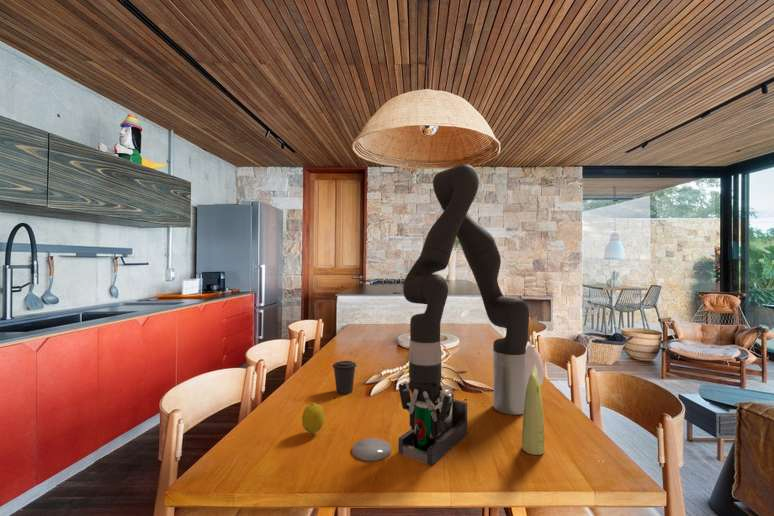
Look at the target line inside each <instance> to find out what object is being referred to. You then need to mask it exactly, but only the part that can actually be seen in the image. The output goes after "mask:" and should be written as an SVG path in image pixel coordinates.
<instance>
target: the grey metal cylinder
mask: <svg viewBox="0 0 774 516" xmlns="http://www.w3.org/2000/svg"><path fill="white" fill-rule="evenodd" d="M441 387H442V390H443V391H445V392H447V393H450V392H451V393H453V392H454V391H453V390H454V389H453V388H452V387H451V386H449V385H443V384H441ZM453 394H454V393H453ZM438 399H439V402H440V409H441V408H442V404H443V402H442V401H441V399H442V398H441V396H439V398H438ZM451 428H453V402H452V406H451V410H450V415H449V417H448V418H446V419H445V420H444V421H441V433H440V434H439V435H438V436H437V437H436V441H437V440H438V439H439V438H441V437H442V436H443V435H444V434H445V433H447V432H448V431H449V430H450V429H451Z"/></svg>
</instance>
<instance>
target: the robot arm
mask: <svg viewBox="0 0 774 516" xmlns="http://www.w3.org/2000/svg"><path fill="white" fill-rule="evenodd" d="M479 179H480V178H479V175H478V173H477V171H476V169H475V168H474V167H473V166H472V165H470V164H467V163H465V164H459V165H456V166H453V167H450V168H447V169H445V170H442V171H439V172H438V173H436V174H435V175H434V178H433V179H432V181H433V182H432V186H433V191H434V194H435V198H436V199H437V201H438V202H439V205H440V207H441V209H442V210H443V212H442V213H441V214H440V216H439V217H438V218H437V220H436V221H435V222H434V223H433V225H432V226H431V227H430V229H429V231H428V232H427V236H426V237H425V240H424V244H423V246H422V248H421V249H422V250H421V253H420V255H419V257H418V258H417V260H416V261H415V262H414V264H413V265H412V267H411V269H410V270H409V272H408V273H407V275H406V277H405V278H404V279H405V280H404V281H403V285H402V291H403V292H402V293H403V296H404V298H405V300H406V301H408V302H409V303H412V304H418V305H419V304H420V305H421V304H422V305H426V309H425V310H424V313H423V312H422V313H416V314H414V315H412V316H411V318H410V321H409V322H410V323H409V325H410V327H409V329H410V330H409V336H410V338H409V349H408V378H409V381H406V380H405V381H403V382H401V383H399V384H398V391H399V396H400V401H401V408H402V409H403V410H407V411H408V413H409V427H411V428H410V429H412V430H414V406H415V403H416V400H417V401H418V400H421V401H425V402H426V403H427V406H428V409H429V411H431V415H432V418H433V421H432V436H433V437H437V436H438V435H439V434H440V433H441V421H444V420H445V419H446V418H448V417H449V415H450V410H451V406H452V402H453V399H454V398H455V397H454V396H455V395H454V393H451V392H450V393H447V392H445V391H443V390H442V387H441V385H442V384H441V383H442V346H441V345H442V344H441V323H442V318H443V315H444V314H443V313H444V310H445V307H446V301H447V298H448V295H449V286H448V282H447V281H446V279H445V277H444V276H442V275H441V274H434V273H437V272H441V271H443V270H445V269H447V267H448V265H449V262H450V259H451V256H452V253H453V248H454V246H455V245H454V244H455V242H456V241H455V240H456V239H457V240H458V243H459V244H460V246H461V249H462V252H463V254H464V257H465V260H466V261H467V264H468V266H469V268H470V271H471V272H472V275H473V277H474V280H475V282H476V285H477V287H478V290H479V293H480V296H481V299H482V302H483V306H484V309H485V312H486V315H487V318H488V320H489V321H490V322H491V324H492V325H494V327H495V326H496V327H499V328H503V329H506V331H505V332H506V333H505V336H504V337H502V338H501V337H500V338H497V339H495V340H494V341H493V349H492V350H493V351H492V352H493V353H492V354H493V355H492V357H493V358H492V359H493V363H492V364H493V374H492V375H493V378H492V379H493V392H492V393H493V399H492V400H493V401H492V402H493V405H492V406H493V409H495V411H497V412H499V413H502V414H506V415H511V416H513V415H514V416H516V415H517V416H518V415H523V412H524V402H525V395H526V348H527V345H528V343H529V327H530V310H529V306H528V304H527V303H526V301H525V300H523V299H521V298H515V297H505V296H504V295H503V293H502V291H501V288H500V286H499V285H500V284H499V282H498V281H499V280H498V279H499V278H498V277H499V272H500V269H501V261H502V260H501V259H502V256H501V255H500V254H501V253H500V252H499V249H498V246H497V244H496V241H495V238H494V237H493V236H492V234H491V233H490V232H489V231H488V229H486V228H485V227H484V226H482V225H481V224H480V223H479V222H478V221H476V220H475V219H474V218H472V217H471V215H470V214H469V212H468V211H469V210H470V208H471V206H472V203H473V202H474V200H475V198H476V196H477V193H478V189H479V184H480V182H479ZM410 392H411V393H410ZM411 394H412V397H411ZM439 396H441V398H442V399H441V401H442V402H443V404H442V408H441V409H440V402H439V399H438V398H439ZM433 403H435V404H436V405H435V406H433Z"/></svg>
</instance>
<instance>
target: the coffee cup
mask: <svg viewBox="0 0 774 516" xmlns="http://www.w3.org/2000/svg"><path fill="white" fill-rule="evenodd" d="M356 367H357V364H356V362H354V361H351V360H340V361H337V362H334V363H333V365H332V368H333V370H334V371H333V372H334V380H335V381H334V382H335V390H336V394H338V395H343V396H345V395H349V394H352V393H353V389H354V381H355V371H356Z"/></svg>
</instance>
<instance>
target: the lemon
mask: <svg viewBox="0 0 774 516" xmlns="http://www.w3.org/2000/svg"><path fill="white" fill-rule="evenodd" d="M324 413H325V412H324V410H323V408H322V406H321V405H320V404H318V403H316V402H311V403H310V404H308V405H307V406H305V408H304V409H303V412H302V416H301V417H302V418H301V423H302V427H303V428H304V430H305V431H306V432H307V433H310V434H312V435H315V434H316V433H317V432H319V431H321V429H322V427H323V425H324V421H325V414H324Z"/></svg>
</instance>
